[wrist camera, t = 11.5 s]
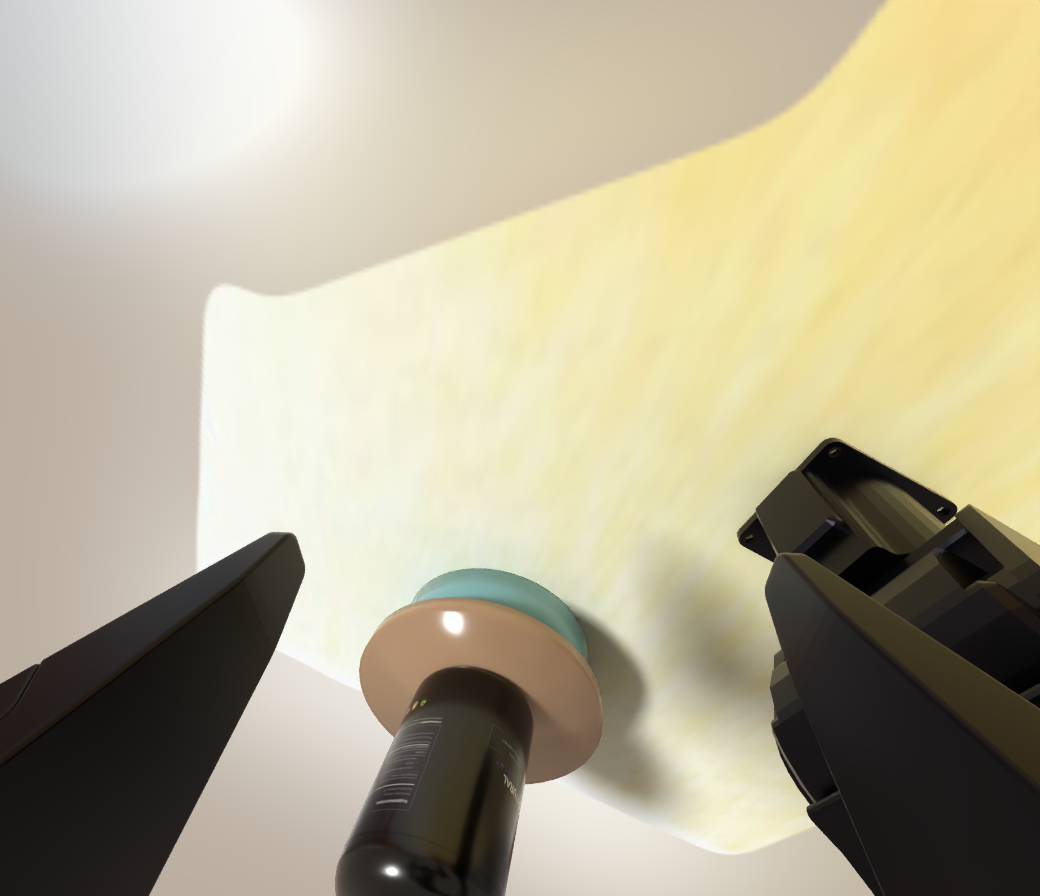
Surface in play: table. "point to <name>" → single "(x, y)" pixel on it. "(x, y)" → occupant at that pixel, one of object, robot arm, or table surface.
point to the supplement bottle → (444, 793)
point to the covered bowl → (493, 659)
